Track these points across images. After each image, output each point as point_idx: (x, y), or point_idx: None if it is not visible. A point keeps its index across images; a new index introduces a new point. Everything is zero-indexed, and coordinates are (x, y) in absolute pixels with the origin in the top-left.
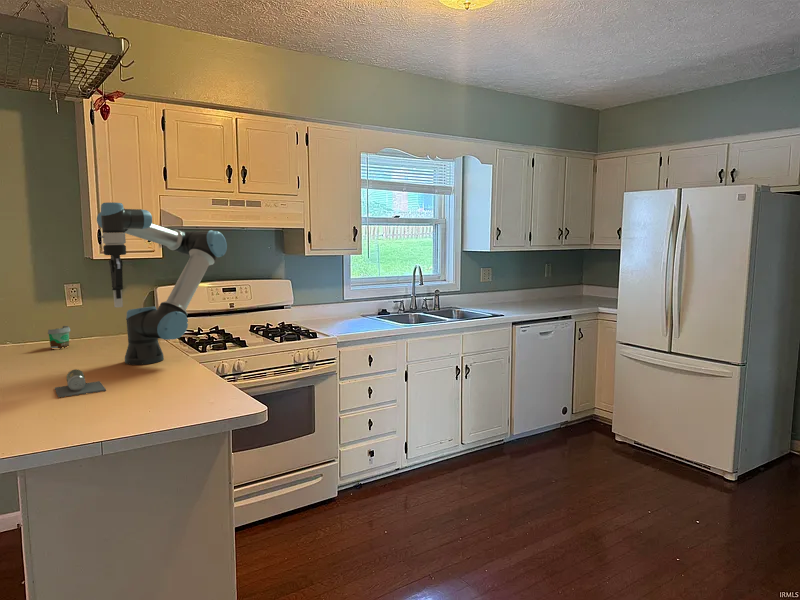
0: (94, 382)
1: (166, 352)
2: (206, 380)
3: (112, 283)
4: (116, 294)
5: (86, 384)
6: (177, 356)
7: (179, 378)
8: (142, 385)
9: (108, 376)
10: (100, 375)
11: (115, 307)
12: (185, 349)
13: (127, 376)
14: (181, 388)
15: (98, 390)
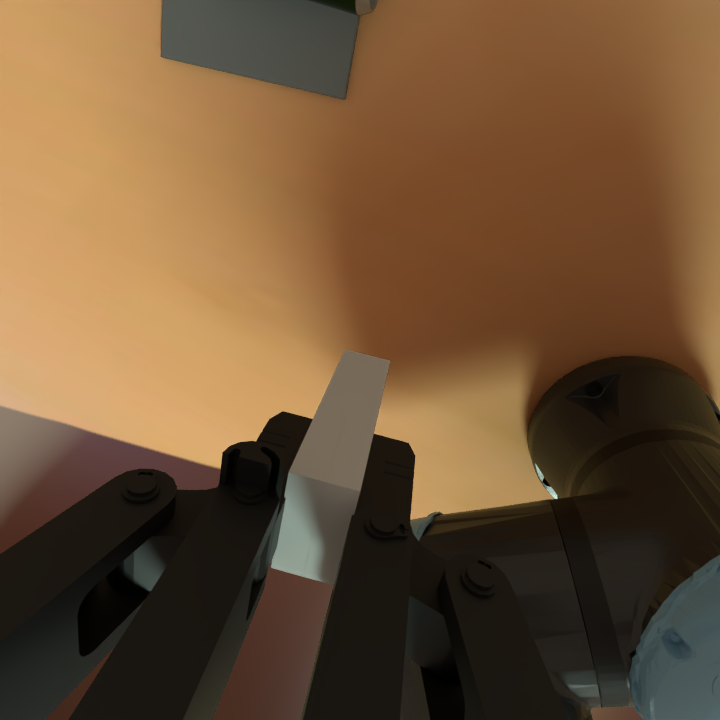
0: (334, 68)
1: None
2: (88, 398)
3: (458, 629)
4: (280, 448)
5: (322, 19)
6: None
7: (178, 359)
8: (161, 215)
9: (445, 184)
10: (502, 165)
11: (345, 353)
12: None
13: (370, 245)
14: (28, 290)
15: (162, 21)
